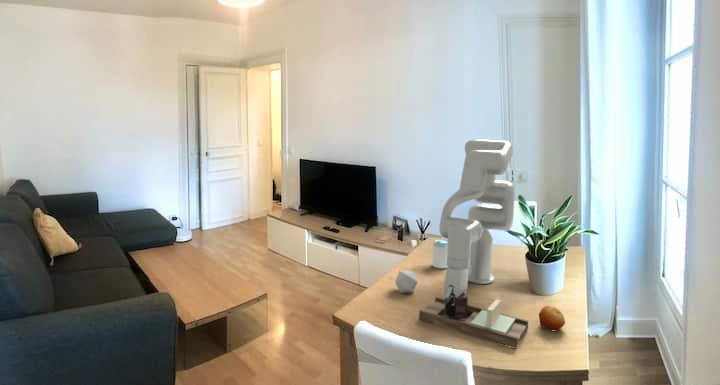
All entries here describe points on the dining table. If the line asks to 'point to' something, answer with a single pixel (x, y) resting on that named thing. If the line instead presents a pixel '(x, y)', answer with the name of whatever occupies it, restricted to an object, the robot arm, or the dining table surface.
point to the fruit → (551, 318)
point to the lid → (494, 319)
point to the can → (440, 254)
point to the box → (460, 306)
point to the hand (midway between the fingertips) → (455, 310)
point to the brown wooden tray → (438, 317)
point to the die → (406, 281)
